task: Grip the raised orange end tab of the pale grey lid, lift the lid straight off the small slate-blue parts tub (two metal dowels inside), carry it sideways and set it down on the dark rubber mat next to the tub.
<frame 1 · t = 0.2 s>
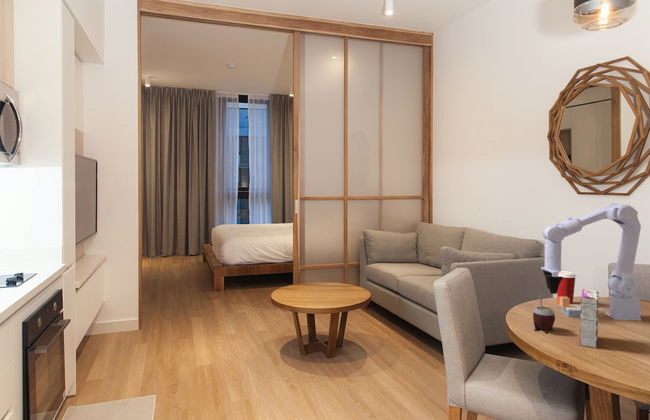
hand: (552, 291, 172), 10 cm above the table, tool pointing down, fingers open, 7 cm apart
mate gourd: (543, 331, 156), on the table
lid: (575, 308, 173), point 3 cm above the table, touching tub
dowel a: (575, 313, 174), resting on tub
mat: (586, 324, 163), on the table
candy bar box: (588, 342, 146), on the table
tub: (575, 315, 173), on the table
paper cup: (564, 305, 187), on the table
dowel b: (575, 315, 171), resting on tub
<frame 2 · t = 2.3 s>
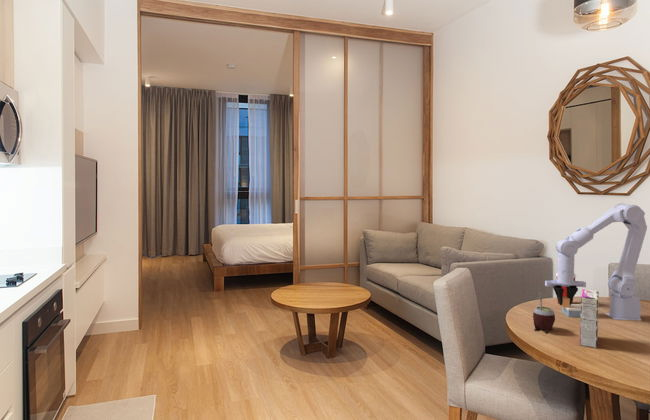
hand: (564, 304, 173), 4 cm above the table, tool pointing down, fingers closed on lid, 3 cm apart
lid: (575, 308, 173), point 3 cm above the table, touching gripper, tub
dowel a: (575, 313, 174), point 1 cm above the table, tilted 8°, touching tub
everything else where it was.
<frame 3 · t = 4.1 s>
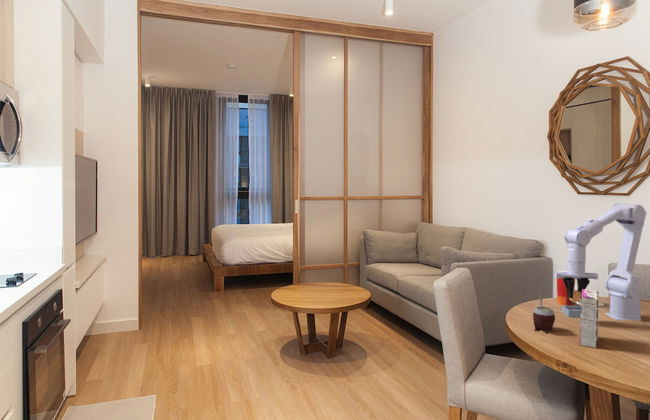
hand: (575, 297, 163), 10 cm above the table, tool pointing down, fingers closed on lid, 3 cm apart
lid: (586, 302, 162), point 8 cm above the table, touching gripper
dowel a: (575, 313, 174), point 1 cm above the table, tilted 29°, touching tub
everything else where it was.
when the fingers open (3 cm above the table, at t = 5.6 s): lid stays where it is, resting on mat.
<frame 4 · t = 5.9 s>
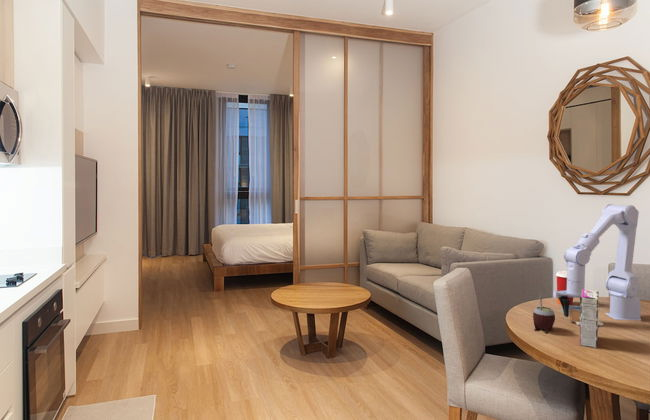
hand: (574, 316, 163), 3 cm above the table, tool pointing down, fingers open, 5 cm apart
lid: (586, 322, 163), point 1 cm above the table, touching mat
dowel a: (575, 313, 174), resting on tub
dowel b: (575, 315, 171), point 1 cm above the table, tilted 20°, touching tub
everything else where it was.
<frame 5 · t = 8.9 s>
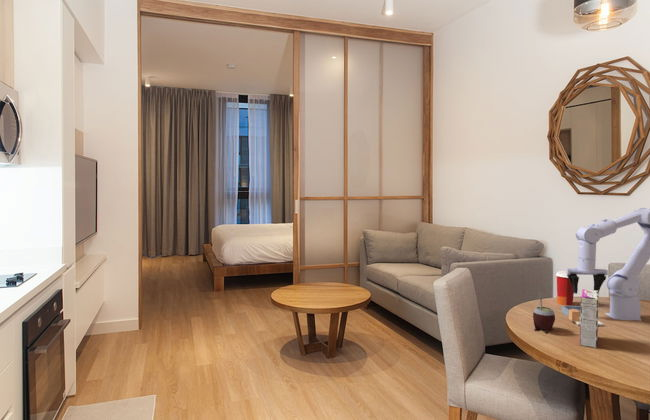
hand: (585, 293, 169), 10 cm above the table, tool pointing down, fingers open, 7 cm apart
dowel a: (575, 313, 174), point 1 cm above the table, tilted 40°, touching tub
dowel b: (575, 315, 171), resting on tub
everything else where it was.
at the end: lid inside the target area (0.1 cm from its centre), point 0.8 cm above the table; lid touching mat; the gripper is holding nothing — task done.
